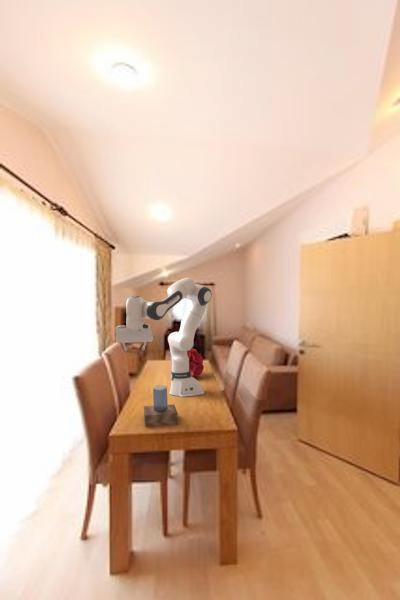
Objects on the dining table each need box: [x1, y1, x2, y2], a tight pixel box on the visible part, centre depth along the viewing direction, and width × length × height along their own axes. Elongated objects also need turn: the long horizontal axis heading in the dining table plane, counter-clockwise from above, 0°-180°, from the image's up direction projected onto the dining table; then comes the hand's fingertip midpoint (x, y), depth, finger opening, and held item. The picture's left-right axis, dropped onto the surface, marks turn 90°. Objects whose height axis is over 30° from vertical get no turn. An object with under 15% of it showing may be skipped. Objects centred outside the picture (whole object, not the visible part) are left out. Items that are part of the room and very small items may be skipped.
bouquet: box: [187, 347, 205, 378], centre depth 276 cm, size 22×24×30 cm
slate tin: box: [152, 384, 169, 412], centre depth 182 cm, size 5×5×12 cm
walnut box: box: [143, 403, 179, 428], centre depth 182 cm, size 16×14×6 cm
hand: (134, 350), depth 198 cm, fingers open, 8 cm apart
